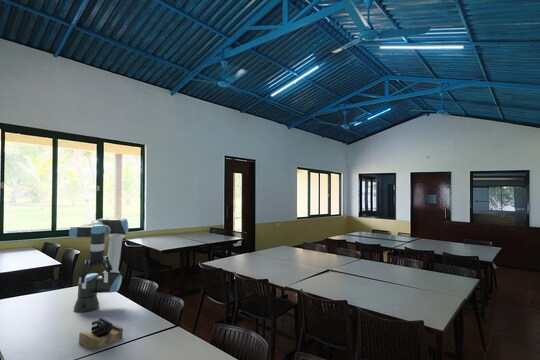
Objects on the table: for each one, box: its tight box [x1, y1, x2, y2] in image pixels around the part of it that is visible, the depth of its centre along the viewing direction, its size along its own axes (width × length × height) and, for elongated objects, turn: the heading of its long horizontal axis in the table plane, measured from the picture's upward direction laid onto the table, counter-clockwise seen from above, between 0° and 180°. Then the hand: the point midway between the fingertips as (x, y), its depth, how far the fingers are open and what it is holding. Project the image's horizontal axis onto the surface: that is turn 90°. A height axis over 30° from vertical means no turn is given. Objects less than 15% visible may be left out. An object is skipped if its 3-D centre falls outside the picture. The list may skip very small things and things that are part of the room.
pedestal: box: [78, 323, 124, 351], centre depth 166 cm, size 16×14×5 cm
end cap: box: [91, 317, 114, 338], centre depth 166 cm, size 10×7×7 cm
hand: (95, 285), depth 182 cm, fingers open, 13 cm apart
